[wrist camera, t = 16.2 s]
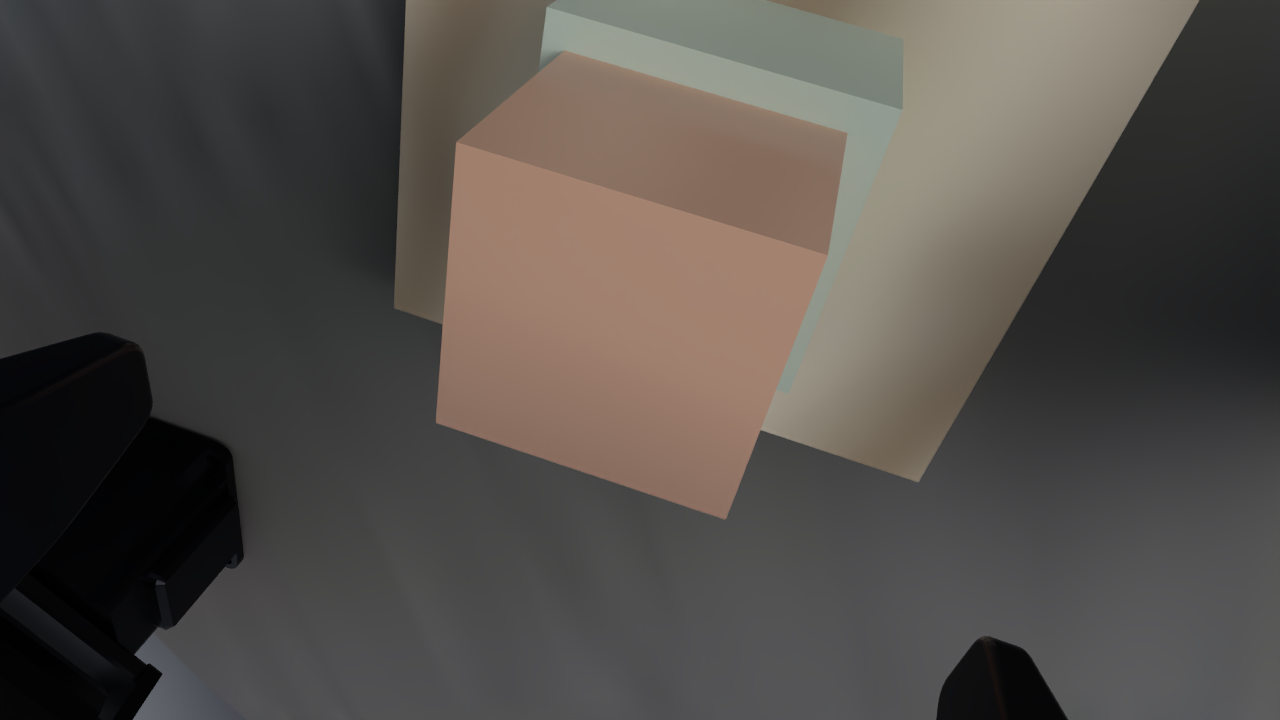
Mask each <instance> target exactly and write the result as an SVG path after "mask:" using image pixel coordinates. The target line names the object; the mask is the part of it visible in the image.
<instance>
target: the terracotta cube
mask: <svg viewBox="0 0 1280 720" xmlns="http://www.w3.org/2000/svg"><path fill="white" fill-rule="evenodd" d="M847 134H848V133H846V132H842V131H839V130H836V129H832V128H829V127H825V126H822V125H818V124H815V123H812V122H808V121H805V120H801V119H798V118H795V117H791V116H788V115H784V114H781V113H777V112H774V111H771V110H767V109H764V108H760V107H757V106H753V105H750V104H747V103H743V102H740V101H736V100H733V99H729V98H726V97H723V96H719V95H716V94H712V93H709V92H705V91H702V90H699V89H695V88H692V87H688V86H685V85H682V84H678V83H675V82H671V81H668V80H664V79H661V78H658V77H654V76H651V75H647V74H644V73H640V72H637V71H634V70H630V69H627V68H623V67H620V66H616V65H613V64H610V63H606V62H603V61H599V60H596V59H592V58H589V57H586V56H582V55H579V54H575V53H572V52H568V51H565V50H564V51H563V52H562V53H561V54H560V55H559V56H557V57H556V58H555V59H554V60H553V61H551V62H550V63H549V64H548V65H547V66H546V67H544V68H543V69H542V70H541V71H540V72H538V73H537V74H536V75H535V76H534V77H533V78H531V79H530V80H529V81H528V82H527V83H525V84H524V85H523V86H522V87H521V88H520V89H518V90H517V91H516V92H515V93H514V94H512V95H511V96H510V97H509V98H508V99H507V100H505V101H504V102H503V103H502V104H501V105H499V106H498V107H497V108H496V109H495V110H494V111H492V112H491V113H490V114H489V115H488V116H486V117H485V118H484V119H483V120H482V121H481V122H479V123H478V124H477V125H476V126H475V127H473V128H472V129H471V130H470V131H469V132H468V133H466V134H465V135H464V136H463V137H462V138H460V139H459V140H458V141H457V142H456V152H455V166H454V179H453V193H452V207H451V221H450V234H449V248H448V262H447V276H446V289H445V303H444V317H443V331H442V344H441V358H440V372H439V386H438V399H437V413H436V423H438V424H441V425H444V426H447V427H450V428H453V429H456V430H459V431H462V432H465V433H468V434H471V435H474V436H477V437H480V438H483V439H486V440H489V441H492V442H495V443H498V444H501V445H504V446H507V447H510V448H513V449H516V450H519V451H522V452H525V453H528V454H531V455H534V456H537V457H540V458H543V459H546V460H549V461H552V462H554V463H557V464H560V465H563V466H566V467H569V468H572V469H575V470H578V471H581V472H584V473H587V474H590V475H593V476H596V477H599V478H602V479H605V480H608V481H611V482H614V483H617V484H620V485H623V486H626V487H629V488H632V489H635V490H638V491H641V492H644V493H647V494H650V495H653V496H656V497H659V498H662V499H665V500H668V501H671V502H674V503H677V504H680V505H683V506H686V507H689V508H692V509H695V510H698V511H701V512H704V513H707V514H710V515H713V516H716V517H719V518H722V519H725V520H726V518H727V515H728V512H729V510H730V507H731V505H732V502H733V500H734V497H735V494H736V492H737V489H738V487H739V484H740V481H741V479H742V476H743V474H744V471H745V469H746V466H747V463H748V461H749V458H750V456H751V453H752V450H753V448H754V445H755V443H756V440H757V438H758V435H759V432H760V430H761V427H762V425H763V422H764V419H765V417H766V414H767V412H768V409H769V407H770V404H771V401H772V399H773V396H774V394H775V391H776V388H777V386H778V383H779V381H780V378H781V375H782V373H783V370H784V368H785V365H786V363H787V360H788V357H789V355H790V352H791V350H792V347H793V344H794V342H795V339H796V337H797V334H798V332H799V329H800V326H801V324H802V321H803V319H804V316H805V313H806V311H807V308H808V306H809V303H810V301H811V298H812V295H813V293H814V290H815V288H816V285H817V282H818V280H819V277H820V275H821V272H822V270H823V267H824V264H825V262H826V259H827V257H828V252H829V246H830V240H831V234H832V227H833V221H834V215H835V209H836V202H837V196H838V190H839V184H840V177H841V171H842V165H843V159H844V152H845V146H846V140H847Z"/></svg>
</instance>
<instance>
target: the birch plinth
mask: <svg viewBox="0 0 1280 720" xmlns="http://www.w3.org/2000/svg"><path fill="white" fill-rule="evenodd" d="M555 1H556V0H406V14H405V39H404V64H403V89H402V115H401V140H400V165H399V191H398V216H397V241H396V266H395V292H394V308H395V309H398V310H401V311H404V312H407V313H410V314H413V315H416V316H419V317H422V318H425V319H428V320H431V321H434V322H437V323H440V324H443V317H444V303H445V289H446V276H447V262H448V248H449V234H450V221H451V207H452V193H453V179H454V166H455V152H456V142H457V141H458V140H459V139H460V138H462V137H463V136H464V135H465V134H466V133H468V132H469V131H470V130H471V129H472V128H473V127H475V126H476V125H477V124H478V123H479V122H481V121H482V120H483V119H484V118H485V117H486V116H488V115H489V114H490V113H491V112H492V111H494V110H495V109H496V108H497V107H498V106H499V105H501V104H502V103H503V102H504V101H505V100H507V99H508V98H509V97H510V96H511V95H512V94H514V93H515V92H516V91H517V90H518V89H520V88H521V87H522V86H523V85H524V84H525V83H527V82H528V81H529V80H530V79H531V78H533V77H534V76H535V75H536V74H537V73H538V71H539V63H540V55H541V48H542V40H543V32H544V24H545V17H546V9H547V6H549V5H550V4H552V3H553V2H555ZM767 1H771V2H774V3H778V4H782V5H785V6H789V7H792V8H796V9H799V10H803V11H806V12H810V13H813V14H817V15H821V16H824V17H828V18H831V19H835V20H838V21H842V22H845V23H849V24H852V25H856V26H859V27H863V28H867V29H870V30H874V31H877V32H881V33H884V34H888V35H891V36H895V37H898V38H902V39H904V43H903V110H902V113H901V115H900V118H899V120H898V123H897V125H896V128H895V130H894V133H893V135H892V138H891V140H890V143H889V145H888V147H887V150H886V152H885V155H884V157H883V160H882V162H881V165H880V167H879V170H878V172H877V175H876V177H875V180H874V182H873V185H872V187H871V190H870V192H869V195H868V197H867V200H866V202H865V205H864V207H863V210H862V212H861V215H860V217H859V220H858V222H857V225H856V227H855V230H854V232H853V235H852V237H851V240H850V242H849V245H848V247H847V250H846V252H845V254H844V257H843V259H842V262H841V264H840V267H839V269H838V272H837V274H836V277H835V279H834V282H833V284H832V287H831V289H830V292H829V294H828V297H827V299H826V302H825V304H824V307H823V309H822V312H821V314H820V317H819V319H818V322H817V324H816V327H815V329H814V332H813V334H812V337H811V339H810V342H809V344H808V347H807V349H806V352H805V354H804V357H803V359H802V361H801V364H800V366H799V369H798V371H797V374H796V376H795V379H794V381H793V384H792V386H791V389H790V391H789V394H787V393H784V392H781V391H778V390H776V391H775V394H774V396H773V399H772V401H771V404H770V407H769V409H768V412H767V414H766V417H765V419H764V422H763V425H762V427H761V430H762V431H765V432H768V433H771V434H774V435H777V436H780V437H783V438H786V439H789V440H792V441H795V442H798V443H801V444H804V445H807V446H811V447H814V448H817V449H820V450H823V451H826V452H829V453H832V454H835V455H838V456H841V457H844V458H847V459H850V460H853V461H856V462H859V463H862V464H865V465H868V466H871V467H874V468H877V469H880V470H883V471H886V472H889V473H892V474H895V475H898V476H901V477H904V478H907V479H910V480H913V481H916V482H919V480H920V479H921V477H922V475H923V473H924V472H925V470H926V468H927V467H928V465H929V463H930V461H931V460H932V458H933V456H934V455H935V453H936V451H937V449H938V448H939V446H940V444H941V443H942V441H943V439H944V437H945V436H946V434H947V432H948V431H949V429H950V427H951V425H952V424H953V422H954V420H955V419H956V417H957V415H958V413H959V412H960V410H961V408H962V407H963V405H964V403H965V401H966V400H967V398H968V396H969V395H970V393H971V391H972V389H973V388H974V386H975V384H976V383H977V381H978V379H979V377H980V376H981V374H982V372H983V371H984V369H985V367H986V365H987V364H988V362H989V360H990V359H991V357H992V355H993V353H994V352H995V350H996V348H997V347H998V345H999V343H1000V341H1001V340H1002V338H1003V336H1004V335H1005V333H1006V331H1007V329H1008V328H1009V326H1010V324H1011V323H1012V321H1013V319H1014V317H1015V316H1016V314H1017V312H1018V310H1019V309H1020V307H1021V305H1022V304H1023V302H1024V300H1025V299H1026V297H1027V295H1028V293H1029V292H1030V290H1031V288H1032V286H1033V285H1034V283H1035V281H1036V280H1037V278H1038V276H1039V274H1040V273H1041V271H1042V269H1043V268H1044V266H1045V264H1046V262H1047V261H1048V259H1049V257H1050V256H1051V254H1052V252H1053V250H1054V249H1055V247H1056V245H1057V244H1058V242H1059V240H1060V238H1061V237H1062V235H1063V233H1064V232H1065V230H1066V228H1067V226H1068V225H1069V223H1070V221H1071V220H1072V218H1073V216H1074V214H1075V213H1076V211H1077V209H1078V208H1079V206H1080V204H1081V202H1082V201H1083V199H1084V197H1085V196H1086V194H1087V192H1088V190H1089V189H1090V187H1091V185H1092V184H1093V182H1094V180H1095V178H1096V177H1097V175H1098V173H1099V172H1100V170H1101V168H1102V166H1103V165H1104V163H1105V161H1106V160H1107V158H1108V156H1109V154H1110V153H1111V151H1112V149H1113V148H1114V146H1115V144H1116V142H1117V141H1118V139H1119V137H1120V136H1121V134H1122V132H1123V130H1124V129H1125V127H1126V125H1127V124H1128V122H1129V120H1130V118H1131V117H1132V115H1133V113H1134V112H1135V110H1136V108H1137V106H1138V105H1139V103H1140V101H1141V100H1142V98H1143V96H1144V94H1145V93H1146V91H1147V89H1148V88H1149V86H1150V84H1151V82H1152V81H1153V79H1154V77H1155V76H1156V74H1157V72H1158V70H1159V69H1160V67H1161V65H1162V64H1163V62H1164V60H1165V58H1166V57H1167V55H1168V53H1169V52H1170V50H1171V48H1172V46H1173V45H1174V43H1175V41H1176V40H1177V38H1178V36H1179V34H1180V33H1181V31H1182V29H1183V28H1184V26H1185V24H1186V22H1187V21H1188V19H1189V17H1190V16H1191V14H1192V12H1193V10H1194V9H1195V7H1196V5H1197V4H1198V2H1199V0H767Z"/></svg>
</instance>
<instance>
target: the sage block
mask: <svg viewBox="0 0 1280 720" xmlns="http://www.w3.org/2000/svg"><path fill="white" fill-rule="evenodd" d="M903 43H904V39H902V38H898V37H895V36H891V35H888V34H884V33H881V32H877V31H874V30H870V29H867V28H863V27H859V26H856V25H852V24H849V23H845V22H842V21H838V20H835V19H831V18H828V17H824V16H821V15H817V14H813V13H810V12H806V11H803V10H799V9H796V8H792V7H789V6H785V5H782V4H778V3H774V2H771V1H767V0H556V1H555V2H553V3H552V4H550V5H549V6H547V9H546V17H545V24H544V32H543V40H542V48H541V55H540V63H539V71H538V72H540V71H541V70H542V69H543V68H544V67H546V66H547V65H548V64H549V63H550V62H551V61H553V60H554V59H555V58H556V57H557V56H559V55H560V54H561V53H562V52H563V51H564V50H565V51H568V52H572V53H575V54H579V55H582V56H586V57H589V58H592V59H596V60H599V61H603V62H606V63H610V64H613V65H616V66H620V67H623V68H627V69H630V70H634V71H637V72H640V73H644V74H647V75H651V76H654V77H658V78H661V79H664V80H668V81H671V82H675V83H678V84H682V85H685V86H688V87H692V88H695V89H699V90H702V91H705V92H709V93H712V94H716V95H719V96H723V97H726V98H729V99H733V100H736V101H740V102H743V103H747V104H750V105H753V106H757V107H760V108H764V109H767V110H771V111H774V112H777V113H781V114H784V115H788V116H791V117H795V118H798V119H801V120H805V121H808V122H812V123H815V124H818V125H822V126H825V127H829V128H832V129H836V130H839V131H842V132H846V133H848V134H847V140H846V146H845V152H844V159H843V165H842V171H841V177H840V184H839V190H838V196H837V202H836V209H835V215H834V221H833V227H832V234H831V240H830V246H829V252H828V257H827V259H826V262H825V264H824V267H823V270H822V272H821V275H820V277H819V280H818V282H817V285H816V288H815V290H814V293H813V295H812V298H811V301H810V303H809V306H808V308H807V311H806V313H805V316H804V319H803V321H802V324H801V326H800V329H799V332H798V334H797V337H796V339H795V342H794V344H793V347H792V350H791V352H790V355H789V357H788V360H787V363H786V365H785V368H784V370H783V373H782V375H781V378H780V381H779V383H778V386H777V388H776V390H778V391H781V392H784V393H787V394H789V391H790V389H791V386H792V384H793V381H794V379H795V376H796V374H797V371H798V369H799V366H800V364H801V361H802V359H803V357H804V354H805V352H806V349H807V347H808V344H809V342H810V339H811V337H812V334H813V332H814V329H815V327H816V324H817V322H818V319H819V317H820V314H821V312H822V309H823V307H824V304H825V302H826V299H827V297H828V294H829V292H830V289H831V287H832V284H833V282H834V279H835V277H836V274H837V272H838V269H839V267H840V264H841V262H842V259H843V257H844V254H845V252H846V250H847V247H848V245H849V242H850V240H851V237H852V235H853V232H854V230H855V227H856V225H857V222H858V220H859V217H860V215H861V212H862V210H863V207H864V205H865V202H866V200H867V197H868V195H869V192H870V190H871V187H872V185H873V182H874V180H875V177H876V175H877V172H878V170H879V167H880V165H881V162H882V160H883V157H884V155H885V152H886V150H887V147H888V145H889V143H890V140H891V138H892V135H893V133H894V130H895V128H896V125H897V123H898V120H899V118H900V115H901V113H902V110H903Z"/></svg>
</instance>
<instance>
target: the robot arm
mask: <svg viewBox="0 0 1280 720" xmlns="http://www.w3.org/2000/svg"><path fill="white" fill-rule="evenodd" d="M152 403H153V401H152V394H151V389H150V383H149V378H148V373H147V367H146V362H145V356H144V353H143V351H142V349H141V348H140V347H139V345H138V344H136V343H134V342H132V341H129V340H126V339H123V338H120V337H117V336H114V335H111V334H108V333H102V332H99V333H92V334H88V335H85V336H81V337H77V338H74V339H70V340H67V341H63V342H59V343H56V344H52V345H49V346H45V347H41V348H38V349H34V350H30V351H27V352H23V353H20V354H16V355H12V356H9V357H5V358H2V359H0V720H133V718H134V716H135V715H136V713H137V712H138V710H139V709H140V707H141V706H142V704H143V703H144V701H145V700H146V698H147V697H148V695H149V694H150V692H151V691H152V689H153V688H154V686H155V685H156V683H157V682H158V680H159V679H160V677H161V675H162V673H161V672H160V671H159V670H157V669H156V668H155V667H154V666H152V665H151V664H147V665H146V664H145V663H144V662H142V661H141V660H140V659H139V658H137V657H136V656H135V655H134V654H135V653H136V652H137V651H138V650H139V648H140V647H141V646H142V645H143V644H144V643H145V641H146V640H147V639H148V638H149V637H150V636H151V634H152V633H153V632H154V631H155V630H156V629H157V628H158V627H159V628H161V629H164V630H167V629H169V628H171V627H173V626H175V625H176V624H177V623H178V622H179V620H180V619H181V618H182V617H183V616H184V614H185V613H186V612H187V611H188V610H189V609H190V607H191V606H192V605H193V604H194V603H195V601H196V600H197V599H198V598H199V597H200V596H201V594H202V593H203V592H204V591H205V590H206V588H207V587H208V586H209V585H210V584H211V583H212V581H213V580H214V579H215V578H216V577H217V575H218V574H219V573H220V572H221V571H222V570H223V568H224V567H227V568H231V569H232V568H236V567H237V566H238V565H239V564H240V562H241V561H242V560H243V558H244V553H243V545H242V536H241V527H240V519H239V510H238V501H237V493H236V484H235V475H234V467H233V458H232V455H231V453H230V452H229V450H228V449H227V448H226V447H224V446H223V445H221V444H219V443H216V442H214V441H211V440H208V439H205V438H202V437H199V436H196V435H194V434H191V433H188V432H185V431H182V430H179V429H176V428H174V427H171V426H168V425H165V424H162V423H159V422H157V421H154V420H151V419H148V418H149V416H150V413H151V410H152ZM936 720H1068V719H1067V717H1066V715H1065V714H1064V712H1063V710H1062V709H1061V707H1060V705H1059V704H1058V702H1057V700H1056V698H1055V697H1054V695H1053V693H1052V692H1051V690H1050V688H1049V687H1048V685H1047V683H1046V682H1045V680H1044V678H1043V677H1042V675H1041V673H1040V672H1039V670H1038V668H1037V667H1036V665H1035V663H1034V662H1033V660H1032V658H1031V657H1030V656H1029V654H1028V653H1027V652H1026V651H1025V650H1024V649H1022V648H1020V647H1018V646H1015V645H1012V644H1010V643H1007V642H1004V641H1001V640H998V639H995V638H992V637H988V636H984V637H981V638H979V639H977V640H976V641H975V642H974V643H973V645H972V646H971V647H970V649H969V650H968V651H967V653H966V654H965V655H964V656H963V658H962V659H961V660H960V662H959V663H958V664H957V666H956V667H955V668H954V670H953V671H952V672H951V673H950V675H949V676H948V677H947V679H946V681H945V682H944V685H943V687H942V690H941V693H940V697H939V702H938V710H937V718H936Z"/></svg>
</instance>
